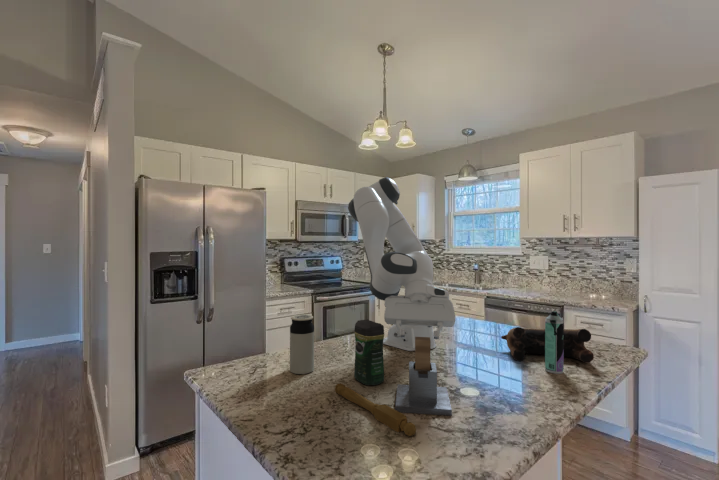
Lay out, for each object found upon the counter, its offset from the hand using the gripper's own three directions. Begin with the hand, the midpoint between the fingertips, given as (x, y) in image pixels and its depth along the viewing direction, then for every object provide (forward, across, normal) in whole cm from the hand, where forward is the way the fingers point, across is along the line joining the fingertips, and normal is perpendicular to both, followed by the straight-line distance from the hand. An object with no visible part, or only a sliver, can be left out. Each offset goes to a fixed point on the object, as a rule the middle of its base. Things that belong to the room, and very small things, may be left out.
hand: (419, 337), depth 101 cm
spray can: (-8, +45, +32) cm, 56 cm away
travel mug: (+2, -38, +23) cm, 45 cm away
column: (+12, +1, +9) cm, 15 cm away
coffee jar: (+5, -15, +19) cm, 25 cm away
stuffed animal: (-22, +48, +46) cm, 71 cm away
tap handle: (+20, -12, +5) cm, 23 cm away
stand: (+13, +1, +10) cm, 17 cm away
